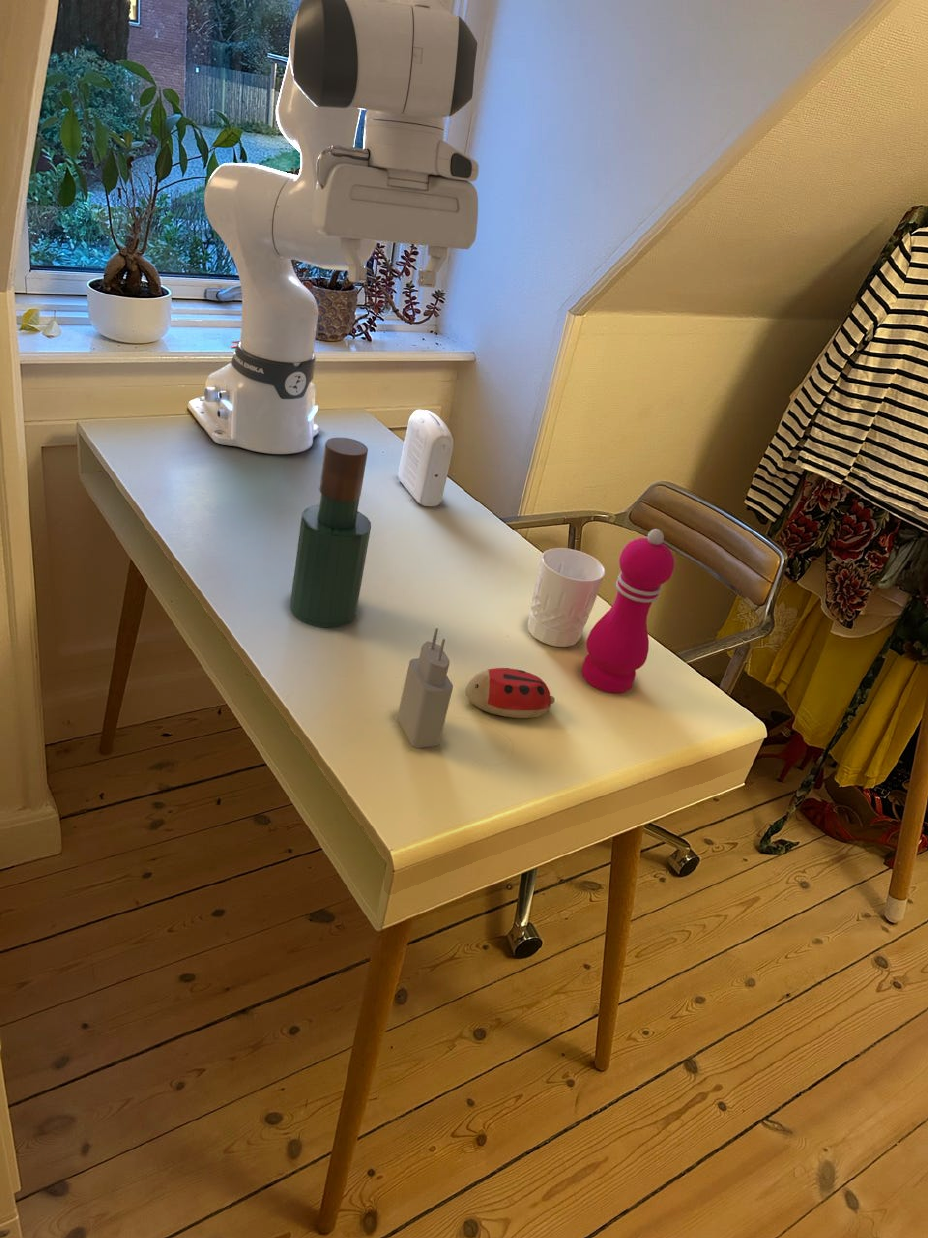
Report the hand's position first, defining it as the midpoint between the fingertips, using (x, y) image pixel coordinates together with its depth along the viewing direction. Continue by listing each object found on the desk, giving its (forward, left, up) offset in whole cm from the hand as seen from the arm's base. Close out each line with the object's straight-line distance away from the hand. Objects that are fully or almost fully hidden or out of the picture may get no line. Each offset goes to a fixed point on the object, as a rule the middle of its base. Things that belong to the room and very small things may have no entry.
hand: (392, 284), depth 114 cm
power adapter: (+36, -18, -34) cm, 53 cm away
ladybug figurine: (+37, -6, -34) cm, 51 cm away
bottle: (+13, -14, -34) cm, 39 cm away
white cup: (+29, +10, -34) cm, 46 cm away
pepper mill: (+39, +9, -34) cm, 53 cm away
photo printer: (-9, +19, -34) cm, 41 cm away
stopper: (+13, -14, -21) cm, 28 cm away
